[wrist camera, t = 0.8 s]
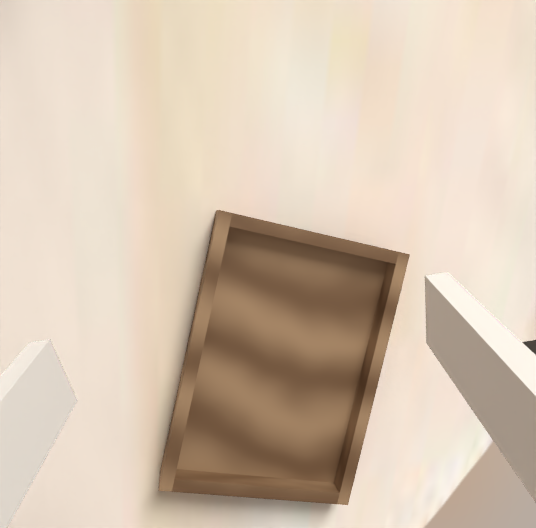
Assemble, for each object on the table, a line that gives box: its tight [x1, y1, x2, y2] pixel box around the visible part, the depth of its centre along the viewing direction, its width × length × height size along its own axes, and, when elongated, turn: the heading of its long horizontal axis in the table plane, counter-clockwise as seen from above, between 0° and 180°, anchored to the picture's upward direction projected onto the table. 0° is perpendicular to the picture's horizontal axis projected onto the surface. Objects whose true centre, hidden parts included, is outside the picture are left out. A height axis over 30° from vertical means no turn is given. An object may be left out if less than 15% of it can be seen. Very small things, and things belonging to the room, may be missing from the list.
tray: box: [159, 210, 409, 505], centre depth 35 cm, size 22×16×2 cm
